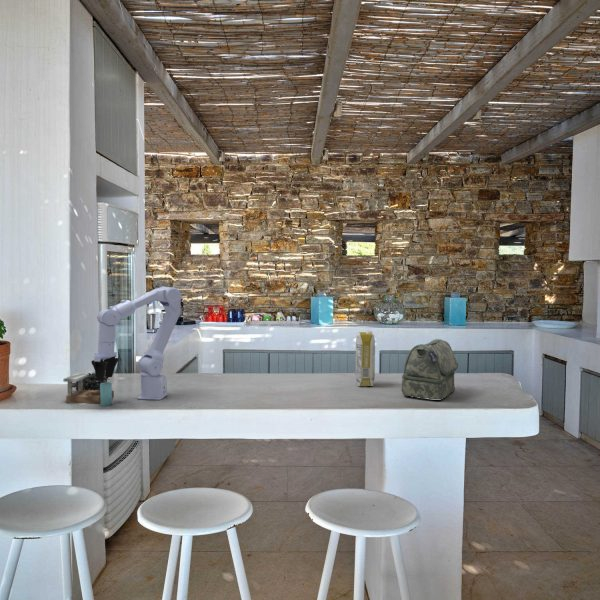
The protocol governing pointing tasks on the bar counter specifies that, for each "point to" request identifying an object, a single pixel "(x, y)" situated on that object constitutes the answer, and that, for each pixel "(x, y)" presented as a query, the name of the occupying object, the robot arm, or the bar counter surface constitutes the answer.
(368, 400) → the bar counter surface
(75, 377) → the socket station
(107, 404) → the peg
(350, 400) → the bar counter surface
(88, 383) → the fruit
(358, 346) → the juice carton
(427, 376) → the lunch bag
